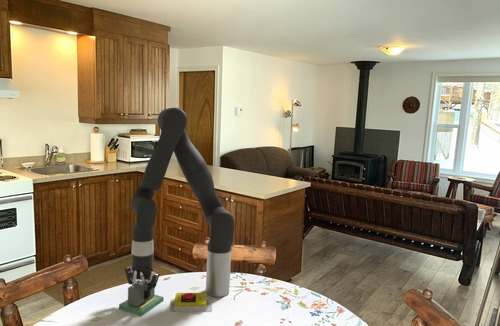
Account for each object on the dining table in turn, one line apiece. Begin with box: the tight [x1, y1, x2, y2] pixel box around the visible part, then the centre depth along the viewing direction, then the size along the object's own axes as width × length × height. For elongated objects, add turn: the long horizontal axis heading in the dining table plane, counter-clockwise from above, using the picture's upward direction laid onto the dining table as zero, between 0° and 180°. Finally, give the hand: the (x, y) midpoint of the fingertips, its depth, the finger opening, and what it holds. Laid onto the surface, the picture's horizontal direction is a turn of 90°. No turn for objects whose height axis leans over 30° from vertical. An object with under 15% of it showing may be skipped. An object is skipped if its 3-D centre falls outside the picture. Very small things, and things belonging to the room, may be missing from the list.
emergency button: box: [169, 292, 213, 313], centre depth 135 cm, size 9×4×15 cm
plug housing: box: [127, 280, 156, 307], centre depth 133 cm, size 10×4×6 cm, turn 157°
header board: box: [118, 293, 164, 317], centre depth 134 cm, size 12×10×5 cm
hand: (141, 297), depth 134 cm, fingers closed on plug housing, 4 cm apart
